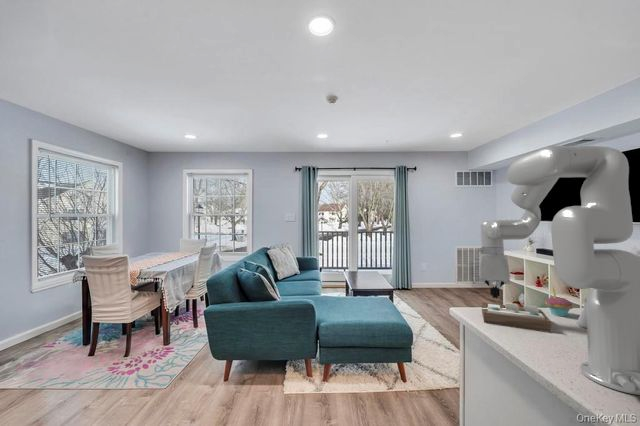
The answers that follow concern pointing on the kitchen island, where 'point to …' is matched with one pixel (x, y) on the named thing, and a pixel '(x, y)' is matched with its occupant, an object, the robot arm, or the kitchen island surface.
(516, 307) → the button mid
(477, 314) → the kitchen island surface
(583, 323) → the flask
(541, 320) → the board
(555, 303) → the cupcake
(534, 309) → the button right
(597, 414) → the kitchen island surface
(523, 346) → the kitchen island surface
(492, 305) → the white square block
